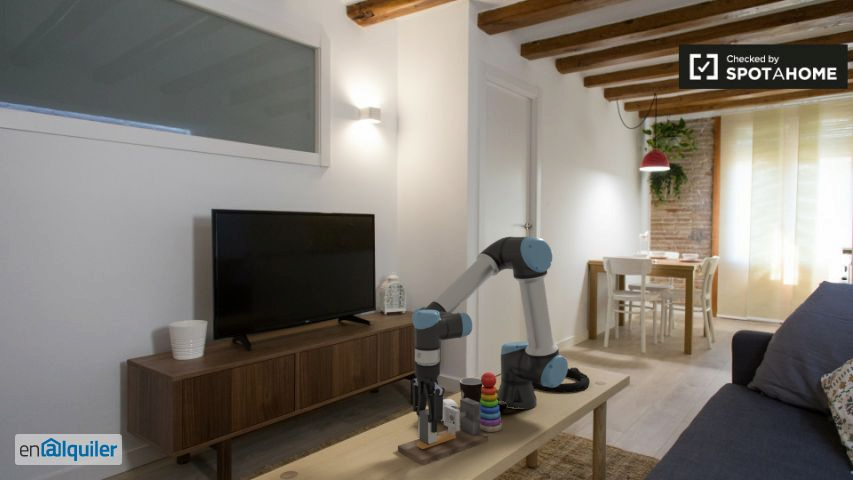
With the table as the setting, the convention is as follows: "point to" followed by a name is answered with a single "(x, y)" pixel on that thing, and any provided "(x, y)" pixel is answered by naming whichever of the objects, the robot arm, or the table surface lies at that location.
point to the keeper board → (464, 439)
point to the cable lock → (568, 386)
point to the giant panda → (451, 404)
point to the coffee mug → (471, 388)
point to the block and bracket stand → (451, 427)
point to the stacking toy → (489, 405)
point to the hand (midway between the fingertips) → (427, 439)
